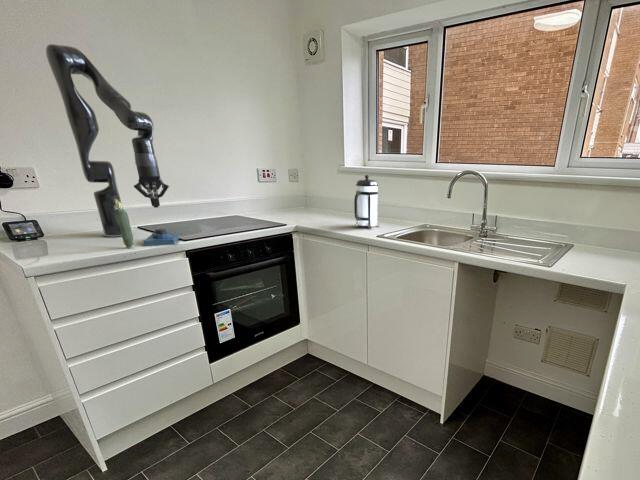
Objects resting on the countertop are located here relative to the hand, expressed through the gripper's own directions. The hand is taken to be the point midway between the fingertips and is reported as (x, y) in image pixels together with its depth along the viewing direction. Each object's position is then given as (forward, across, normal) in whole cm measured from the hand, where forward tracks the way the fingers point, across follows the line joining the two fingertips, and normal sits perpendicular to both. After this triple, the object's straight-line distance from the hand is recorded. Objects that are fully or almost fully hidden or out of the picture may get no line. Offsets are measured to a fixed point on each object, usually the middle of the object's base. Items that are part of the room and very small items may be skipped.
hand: (156, 207), depth 153 cm
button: (+12, 0, 0) cm, 12 cm away
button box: (+15, 0, 0) cm, 15 cm away
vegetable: (+15, +10, +11) cm, 22 cm away
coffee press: (+16, -102, -16) cm, 104 cm away
